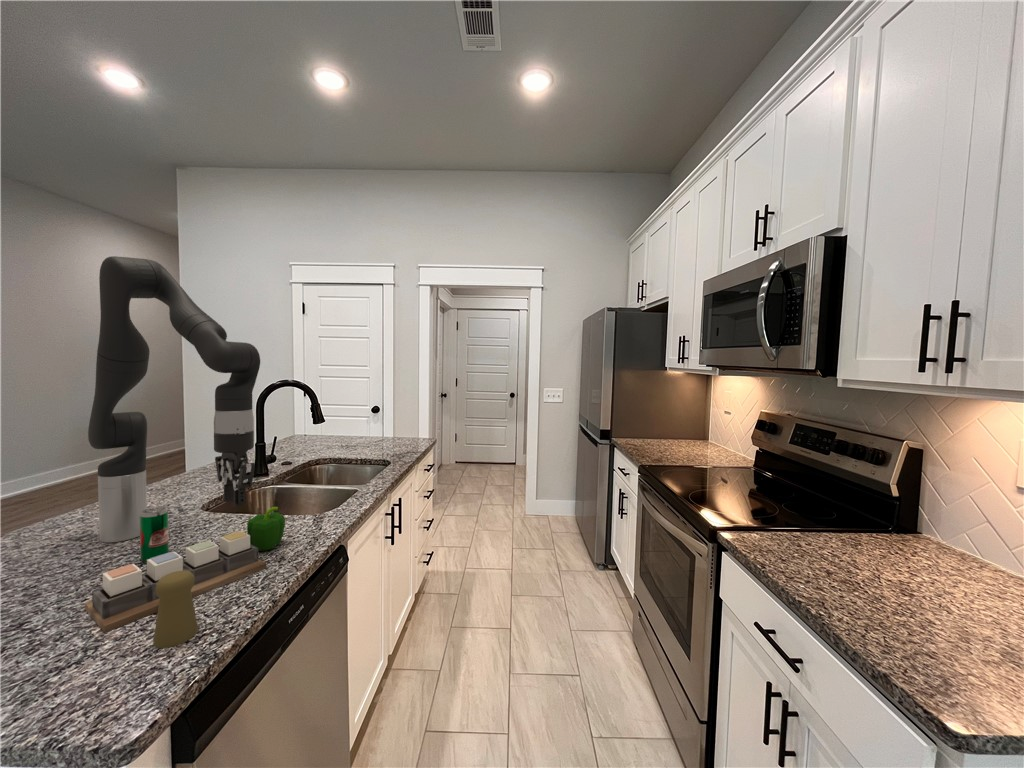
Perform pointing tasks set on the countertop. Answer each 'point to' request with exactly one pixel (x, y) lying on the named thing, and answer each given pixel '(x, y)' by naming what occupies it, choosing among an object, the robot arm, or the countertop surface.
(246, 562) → the keypad
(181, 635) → the cork
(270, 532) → the bell pepper
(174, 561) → the key
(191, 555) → the key
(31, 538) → the countertop surface
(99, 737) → the countertop surface
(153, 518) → the soda can
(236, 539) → the key
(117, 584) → the key
